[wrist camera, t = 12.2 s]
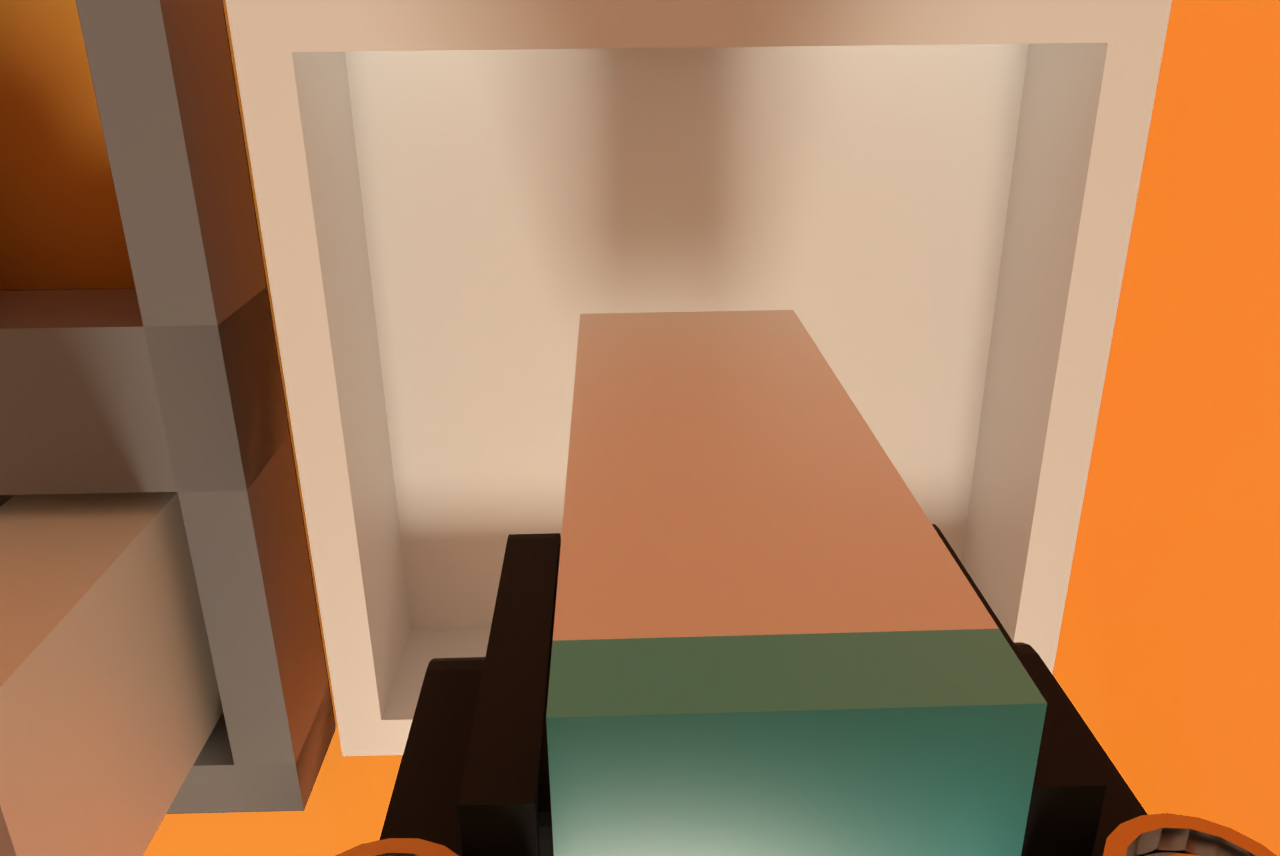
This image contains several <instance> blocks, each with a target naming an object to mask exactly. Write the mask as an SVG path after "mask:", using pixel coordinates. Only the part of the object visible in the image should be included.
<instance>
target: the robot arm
mask: <svg viewBox="0 0 1280 856" xmlns="http://www.w3.org/2000/svg"><path fill="white" fill-rule="evenodd" d="M932 526H933V527H934V529H935V530H936V532H937V533H938V535H939V536H940V538H941V539H942V541H943V543H944V544H945V546H946V547H947V549H948V550H949V552H950V553H951V555H952V557H953V558H954V560H955V561H956V563H957V564H958V566H959V567H960V569H961V570H962V572H963V574H964V575H965V577H966V578H967V580H968V581H969V583H970V584H971V586H972V588H973V589H974V591H975V592H976V594H977V595H978V597H979V598H980V600H981V601H982V603H983V605H984V606H985V608H986V609H987V611H988V612H989V614H990V615H991V617H992V619H993V620H994V622H995V623H996V625H997V626H998V628H999V629H1000V631H1001V632H1002V634H1003V636H1004V637H1005V639H1006V640H1007V642H1008V643H1009V645H1010V646H1011V648H1012V650H1013V651H1014V653H1015V654H1016V656H1017V657H1018V659H1019V660H1020V662H1021V664H1022V665H1023V667H1024V668H1025V670H1026V671H1027V673H1028V674H1029V676H1030V677H1031V679H1032V681H1033V682H1034V684H1035V685H1036V687H1037V688H1038V690H1039V691H1040V693H1041V695H1042V696H1043V698H1044V699H1045V701H1046V702H1047V708H1046V714H1045V719H1044V725H1043V731H1042V737H1041V742H1040V748H1039V754H1038V760H1037V766H1036V771H1035V777H1034V783H1033V789H1032V794H1031V800H1030V806H1029V812H1028V818H1027V823H1026V829H1025V835H1024V841H1023V846H1022V852H1021V856H1277V855H1275V854H1274V853H1273V852H1271V851H1270V850H1269V849H1267V848H1266V847H1265V846H1263V845H1262V844H1260V843H1258V842H1256V841H1254V840H1252V839H1250V838H1249V837H1247V836H1245V835H1243V834H1241V833H1239V832H1237V831H1235V830H1233V829H1231V828H1228V827H1225V826H1222V825H1219V824H1216V823H1213V822H1210V821H1207V820H1204V819H1201V818H1197V817H1190V816H1183V815H1176V814H1169V813H1166V814H1154V815H1147V813H1146V812H1145V810H1144V809H1143V807H1142V806H1141V804H1140V803H1139V802H1138V800H1137V799H1136V797H1135V796H1134V794H1133V793H1132V791H1131V790H1130V788H1129V787H1128V785H1127V784H1126V782H1125V781H1124V779H1123V778H1122V776H1121V775H1120V774H1119V772H1118V771H1117V769H1116V768H1115V766H1114V765H1113V763H1112V762H1111V760H1110V759H1109V757H1108V756H1107V754H1106V753H1105V751H1104V750H1103V749H1102V747H1101V746H1100V744H1099V743H1098V741H1097V740H1096V738H1095V737H1094V735H1093V734H1092V732H1091V731H1090V729H1089V728H1088V726H1087V725H1086V723H1085V722H1084V721H1083V719H1082V718H1081V716H1080V715H1079V713H1078V712H1077V710H1076V709H1075V707H1074V706H1073V704H1072V703H1071V701H1070V700H1069V698H1068V697H1067V695H1066V694H1065V693H1064V691H1063V690H1062V688H1061V687H1060V685H1059V684H1058V682H1057V681H1056V679H1055V678H1054V676H1053V675H1052V673H1051V672H1050V670H1049V669H1048V668H1047V666H1046V665H1045V663H1044V662H1043V660H1042V659H1041V657H1040V656H1039V654H1038V653H1037V652H1036V651H1035V650H1034V649H1033V648H1032V647H1031V645H1029V644H1026V643H1023V642H1015V643H1014V642H1013V641H1012V639H1011V638H1010V636H1009V635H1008V633H1007V632H1006V630H1005V629H1004V627H1003V626H1002V624H1001V622H1000V621H999V619H998V618H997V616H996V615H995V613H994V612H993V610H992V609H991V607H990V606H989V604H988V603H987V601H986V599H985V598H984V596H983V595H982V593H981V592H980V590H979V589H978V587H977V586H976V584H975V583H974V581H973V580H972V578H971V576H970V575H969V573H968V572H967V570H966V569H965V567H964V566H963V564H962V563H961V561H960V560H959V558H958V557H957V555H956V553H955V552H954V550H953V549H952V547H951V546H950V544H949V543H948V541H947V540H946V538H945V537H944V535H943V534H942V532H941V530H940V529H939V528H938V527H937V526H936V525H935V524H932ZM560 547H561V536H560V533H546V534H509V535H508V539H507V544H506V549H505V555H504V560H503V565H502V571H501V576H500V582H499V587H498V592H497V598H496V603H495V608H494V614H493V619H492V624H491V630H490V635H489V640H488V646H487V651H486V656H485V657H465V658H433V659H432V660H431V661H430V662H429V664H428V667H427V670H426V673H425V676H424V680H423V684H422V687H421V691H420V695H419V698H418V702H417V706H416V709H415V713H414V717H413V720H412V724H411V728H410V731H409V735H408V739H407V742H406V746H405V749H404V753H403V757H402V760H401V764H400V768H399V771H398V775H397V779H396V782H395V786H394V790H393V793H392V797H391V801H390V804H389V808H388V812H387V815H386V819H385V822H384V826H383V830H382V833H381V837H380V840H379V841H374V842H370V843H365V844H361V845H358V846H356V847H354V848H352V849H350V850H347V851H345V852H343V853H341V854H338V855H336V856H554V851H553V833H552V815H551V797H550V779H549V761H548V743H547V725H546V713H547V701H548V689H549V677H550V666H551V654H552V642H553V630H554V618H555V606H556V595H557V583H558V571H559V559H560Z"/></svg>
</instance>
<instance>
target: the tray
mask: <svg viewBox="0 0 1280 856" xmlns="http://www.w3.org/2000/svg"><path fill="white" fill-rule="evenodd" d="M1171 4H1172V0H226V6H227V13H228V19H229V26H230V32H231V39H232V45H233V51H234V58H235V64H236V71H237V77H238V84H239V90H240V97H241V103H242V110H243V116H244V123H245V129H246V135H247V142H248V148H249V155H250V161H251V168H252V174H253V181H254V187H255V194H256V200H257V207H258V213H259V219H260V226H261V232H262V239H263V245H264V252H265V258H266V265H267V271H268V278H269V284H270V291H271V297H272V303H273V310H274V316H275V323H276V329H277V336H278V342H279V349H280V355H281V362H282V368H283V375H284V381H285V387H286V394H287V400H288V407H289V413H290V420H291V426H292V433H293V439H294V446H295V452H296V459H297V465H298V471H299V478H300V484H301V491H302V497H303V504H304V510H305V517H306V523H307V530H308V536H309V543H310V549H311V555H312V562H313V568H314V575H315V581H316V588H317V594H318V601H319V607H320V614H321V620H322V627H323V633H324V639H325V646H326V652H327V659H328V665H329V672H330V678H331V685H332V691H333V698H334V704H335V711H336V717H337V723H338V730H339V736H340V743H341V749H342V756H373V755H403V753H404V749H405V746H406V742H407V739H408V735H409V731H410V728H411V724H412V720H413V717H414V713H415V709H416V706H417V702H418V698H419V695H420V691H421V687H422V684H423V680H424V676H425V673H426V670H427V667H428V664H429V662H430V661H431V660H432V659H433V658H465V657H485V656H486V651H487V646H488V640H489V635H490V630H491V624H492V619H493V614H494V608H495V603H496V598H497V592H498V587H499V582H500V576H501V571H502V565H503V560H504V555H505V549H506V544H507V539H508V535H509V534H546V533H560V536H561V535H562V523H563V512H564V500H565V488H566V476H567V464H568V452H569V440H570V429H571V417H572V405H573V393H574V381H575V369H576V357H577V346H578V334H579V322H580V314H594V313H648V312H702V311H756V310H794V312H795V313H796V315H797V316H798V318H799V319H800V321H801V322H802V324H803V325H804V327H805V329H806V330H807V332H808V333H809V335H810V336H811V338H812V339H813V341H814V343H815V344H816V346H817V347H818V349H819V350H820V352H821V353H822V355H823V357H824V358H825V360H826V361H827V363H828V364H829V366H830V367H831V369H832V370H833V372H834V374H835V375H836V377H837V378H838V380H839V381H840V383H841V384H842V386H843V388H844V389H845V391H846V392H847V394H848V395H849V397H850V398H851V400H852V401H853V403H854V405H855V406H856V408H857V409H858V411H859V412H860V414H861V415H862V417H863V419H864V420H865V422H866V423H867V425H868V426H869V428H870V429H871V431H872V432H873V434H874V436H875V437H876V439H877V440H878V442H879V443H880V445H881V446H882V448H883V450H884V451H885V453H886V454H887V456H888V457H889V459H890V460H891V462H892V463H893V465H894V467H895V468H896V470H897V471H898V473H899V474H900V476H901V477H902V479H903V481H904V482H905V484H906V485H907V487H908V488H909V490H910V491H911V493H912V494H913V496H914V498H915V499H916V501H917V502H918V504H919V505H920V507H921V508H922V510H923V512H924V513H925V515H926V516H927V518H928V519H929V521H930V522H931V524H935V525H936V526H937V527H938V528H939V529H940V530H941V532H942V534H943V535H944V537H945V538H946V540H947V541H948V543H949V544H950V546H951V547H952V549H953V550H954V552H955V553H956V555H957V557H958V558H959V560H960V561H961V563H962V564H963V566H964V567H965V569H966V570H967V572H968V573H969V575H970V576H971V578H972V580H973V581H974V583H975V584H976V586H977V587H978V589H979V590H980V592H981V593H982V595H983V596H984V598H985V599H986V601H987V603H988V604H989V606H990V607H991V609H992V610H993V612H994V613H995V615H996V616H997V618H998V619H999V621H1000V622H1001V624H1002V626H1003V627H1004V629H1005V630H1006V632H1007V633H1008V635H1009V636H1010V638H1011V639H1012V641H1013V642H1014V643H1015V642H1023V643H1026V644H1029V645H1031V647H1032V648H1033V649H1034V650H1035V651H1036V652H1037V653H1038V654H1039V656H1040V657H1041V659H1042V660H1043V662H1044V663H1045V665H1046V666H1047V668H1048V669H1049V670H1050V672H1051V673H1053V668H1054V662H1055V656H1056V651H1057V645H1058V639H1059V634H1060V628H1061V623H1062V617H1063V611H1064V606H1065V600H1066V594H1067V589H1068V583H1069V578H1070V572H1071V566H1072V561H1073V555H1074V549H1075V544H1076V538H1077V533H1078V527H1079V521H1080V516H1081V510H1082V504H1083V499H1084V493H1085V488H1086V482H1087V476H1088V471H1089V465H1090V459H1091V454H1092V448H1093V443H1094V437H1095V431H1096V426H1097V420H1098V414H1099V409H1100V403H1101V397H1102V392H1103V386H1104V381H1105V375H1106V369H1107V364H1108V358H1109V352H1110V347H1111V341H1112V336H1113V330H1114V324H1115V319H1116V313H1117V307H1118V302H1119V296H1120V291H1121V285H1122V279H1123V274H1124V268H1125V262H1126V257H1127V251H1128V246H1129V240H1130V234H1131V229H1132V223H1133V217H1134V212H1135V206H1136V201H1137V195H1138V189H1139V184H1140V178H1141V172H1142V167H1143V161H1144V156H1145V150H1146V144H1147V139H1148V133H1149V127H1150V122H1151V116H1152V110H1153V105H1154V99H1155V94H1156V88H1157V82H1158V77H1159V71H1160V65H1161V60H1162V54H1163V49H1164V43H1165V37H1166V32H1167V26H1168V20H1169V15H1170V9H1171Z"/></svg>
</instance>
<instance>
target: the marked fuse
mask: <svg viewBox="0 0 1280 856" xmlns="http://www.w3.org/2000/svg"><path fill="white" fill-rule="evenodd" d="M1046 708H1047V702H1046V701H1045V699H1044V698H1043V696H1042V695H1041V693H1040V691H1039V690H1038V688H1037V687H1036V685H1035V684H1034V682H1033V681H1032V679H1031V677H1030V676H1029V674H1028V673H1027V671H1026V670H1025V668H1024V667H1023V665H1022V664H1021V662H1020V660H1019V659H1018V657H1017V656H1016V654H1015V653H1014V651H1013V650H1012V648H1011V646H1010V645H1009V643H1008V642H1007V640H1006V639H1005V637H1004V636H1003V634H1002V632H1001V631H1000V629H999V628H998V626H997V625H996V623H995V622H994V620H993V619H992V617H991V615H990V614H989V612H988V611H987V609H986V608H985V606H984V605H983V603H982V601H981V600H980V598H979V597H978V595H977V594H976V592H975V591H974V589H973V588H972V586H971V584H970V583H969V581H968V580H967V578H966V577H965V575H964V574H963V572H962V570H961V569H960V567H959V566H958V564H957V563H956V561H955V560H954V558H953V557H952V555H951V553H950V552H949V550H948V549H947V547H946V546H945V544H944V543H943V541H942V539H941V538H940V536H939V535H938V533H937V532H936V530H935V529H934V527H933V526H932V524H931V522H930V521H929V519H928V518H927V516H926V515H925V513H924V512H923V510H922V508H921V507H920V505H919V504H918V502H917V501H916V499H915V498H914V496H913V494H912V493H911V491H910V490H909V488H908V487H907V485H906V484H905V482H904V481H903V479H902V477H901V476H900V474H899V473H898V471H897V470H896V468H895V467H894V465H893V463H892V462H891V460H890V459H889V457H888V456H887V454H886V453H885V451H884V450H883V448H882V446H881V445H880V443H879V442H878V440H877V439H876V437H875V436H874V434H873V432H872V431H871V429H870V428H869V426H868V425H867V423H866V422H865V420H864V419H863V417H862V415H861V414H860V412H859V411H858V409H857V408H856V406H855V405H854V403H853V401H852V400H851V398H850V397H849V395H848V394H847V392H846V391H845V389H844V388H843V386H842V384H841V383H840V381H839V380H838V378H837V377H836V375H835V374H834V372H833V370H832V369H831V367H830V366H829V364H828V363H827V361H826V360H825V358H824V357H823V355H822V353H821V352H820V350H819V349H818V347H817V346H816V344H815V343H814V341H813V339H812V338H811V336H810V335H809V333H808V332H807V330H806V329H805V327H804V325H803V324H802V322H801V321H800V319H799V318H798V316H797V315H796V313H795V312H794V310H756V311H702V312H648V313H594V314H580V322H579V334H578V346H577V357H576V369H575V381H574V393H573V405H572V417H571V429H570V440H569V452H568V464H567V476H566V488H565V500H564V512H563V523H562V535H561V547H560V559H559V571H558V583H557V595H556V606H555V618H554V630H553V642H552V654H551V666H550V677H549V689H548V701H547V713H546V725H547V743H548V761H549V779H550V797H551V815H552V833H553V851H554V856H1021V852H1022V846H1023V841H1024V835H1025V829H1026V823H1027V818H1028V812H1029V806H1030V800H1031V794H1032V789H1033V783H1034V777H1035V771H1036V766H1037V760H1038V754H1039V748H1040V742H1041V737H1042V731H1043V725H1044V719H1045V714H1046Z"/></svg>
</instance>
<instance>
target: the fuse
mask: <svg viewBox="0 0 1280 856" xmlns="http://www.w3.org/2000/svg"><path fill="white" fill-rule="evenodd" d="M222 713H223V708H222V703H221V698H220V693H219V689H218V684H217V679H216V674H215V669H214V664H213V660H212V655H211V650H210V645H209V640H208V635H207V631H206V626H205V621H204V616H203V611H202V607H201V602H200V597H199V592H198V587H197V582H196V578H195V573H194V568H193V563H192V558H191V554H190V549H189V544H188V539H187V534H186V529H185V525H184V520H183V515H182V510H181V505H180V500H179V496H178V492H141V493H88V494H34V495H14V496H13V497H12V498H10V499H9V500H8V501H7V502H6V503H4V504H3V505H2V506H1V507H0V856H143V854H144V852H145V850H146V849H147V847H148V845H149V843H150V842H151V840H152V838H153V836H154V834H155V833H156V831H157V829H158V827H159V825H160V824H161V822H162V820H163V818H164V816H165V815H166V813H167V811H168V809H169V808H170V806H171V804H172V802H173V800H174V799H175V797H176V795H177V793H178V791H179V790H180V788H181V786H182V784H183V783H184V781H185V779H186V777H187V775H188V774H189V772H190V770H191V768H192V766H193V765H194V763H195V761H196V759H197V757H198V756H199V754H200V752H201V750H202V749H203V747H204V745H205V743H206V741H207V740H208V738H209V736H210V734H211V732H212V731H213V729H214V727H215V725H216V723H217V722H218V720H219V718H220V716H221V715H222Z"/></svg>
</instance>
